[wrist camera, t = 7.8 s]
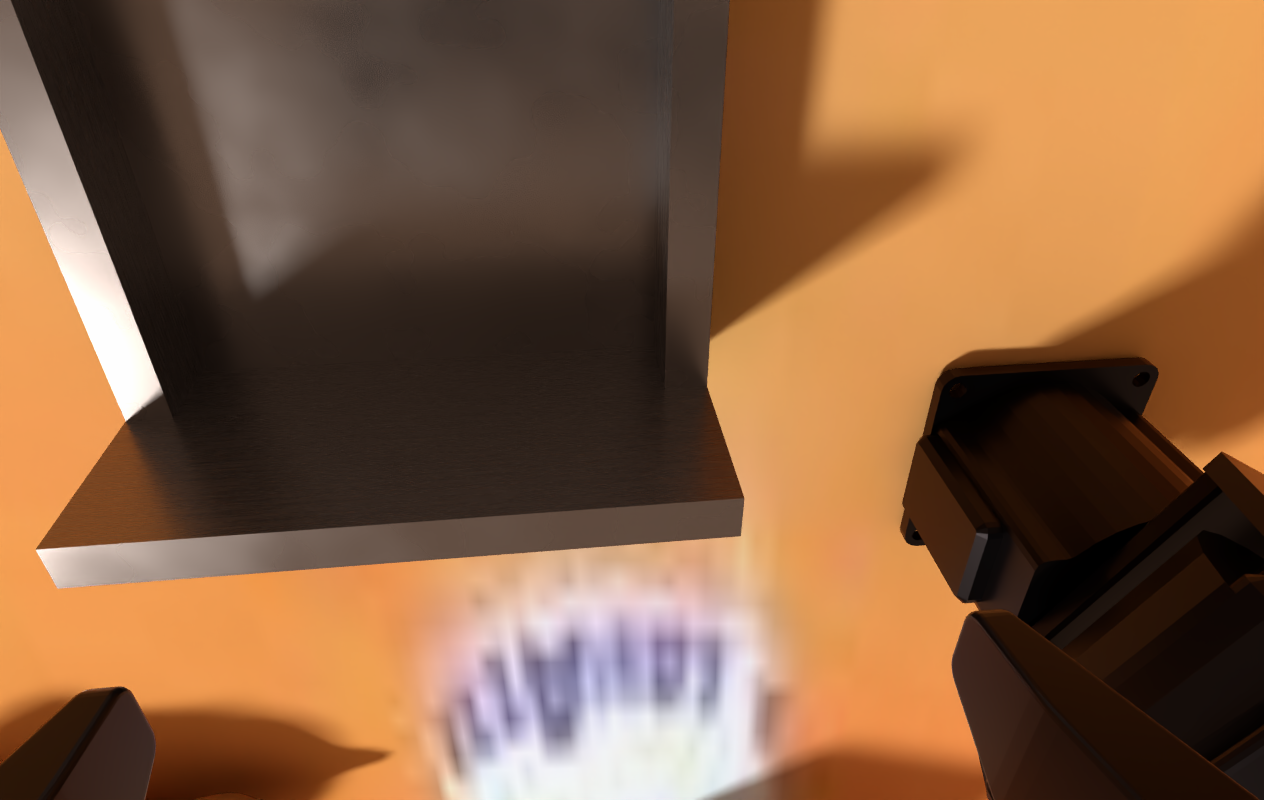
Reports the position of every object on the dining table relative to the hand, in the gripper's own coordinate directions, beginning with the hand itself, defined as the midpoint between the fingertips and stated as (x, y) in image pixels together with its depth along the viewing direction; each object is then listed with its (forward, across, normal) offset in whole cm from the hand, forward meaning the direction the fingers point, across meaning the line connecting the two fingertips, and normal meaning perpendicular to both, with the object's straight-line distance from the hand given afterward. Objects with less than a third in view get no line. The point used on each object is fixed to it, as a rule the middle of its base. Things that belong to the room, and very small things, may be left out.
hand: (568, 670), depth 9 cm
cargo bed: (+13, +3, -2) cm, 13 cm away
